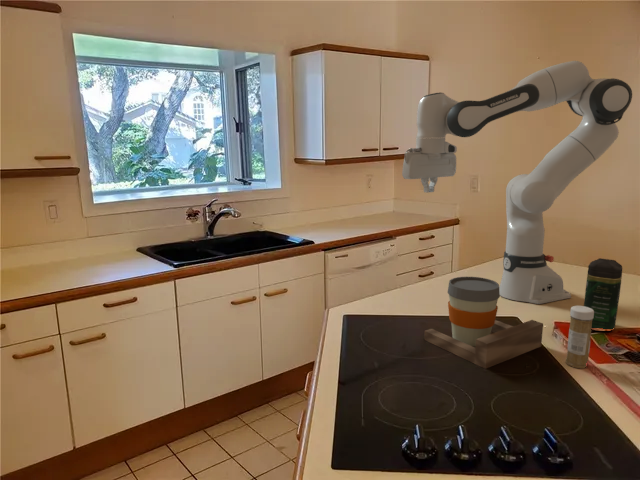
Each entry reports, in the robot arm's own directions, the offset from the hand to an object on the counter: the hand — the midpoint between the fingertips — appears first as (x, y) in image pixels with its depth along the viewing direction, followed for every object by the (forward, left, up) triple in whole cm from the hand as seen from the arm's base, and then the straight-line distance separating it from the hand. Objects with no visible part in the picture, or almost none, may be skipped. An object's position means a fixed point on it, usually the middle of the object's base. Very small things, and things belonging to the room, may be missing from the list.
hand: (428, 192), depth 149 cm
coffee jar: (-34, +37, -34) cm, 60 cm away
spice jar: (-12, +54, -34) cm, 65 cm away
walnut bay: (+2, +38, -34) cm, 51 cm away
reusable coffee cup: (+4, +35, -34) cm, 50 cm away
